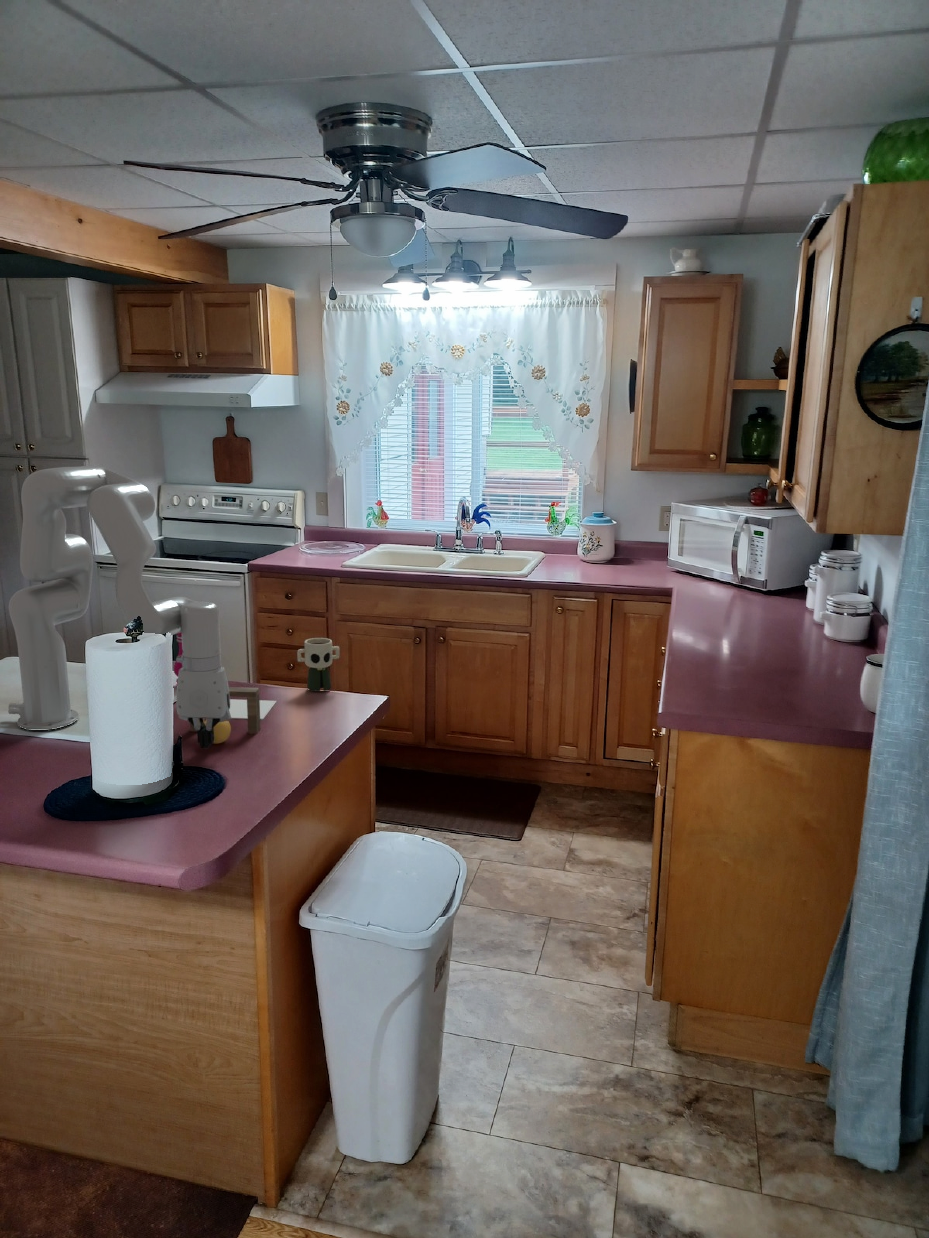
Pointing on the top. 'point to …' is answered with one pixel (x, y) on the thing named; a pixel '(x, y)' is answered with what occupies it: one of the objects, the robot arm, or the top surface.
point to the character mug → (318, 662)
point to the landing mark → (240, 708)
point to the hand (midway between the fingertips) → (206, 745)
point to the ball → (221, 731)
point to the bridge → (252, 706)
